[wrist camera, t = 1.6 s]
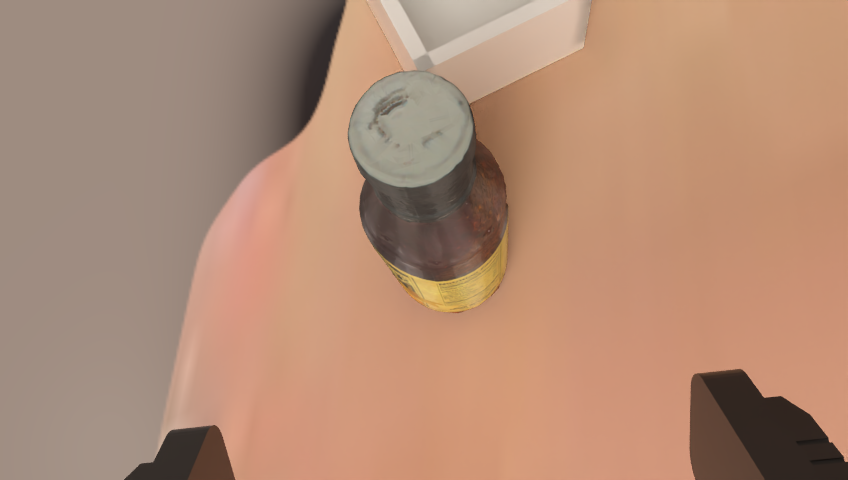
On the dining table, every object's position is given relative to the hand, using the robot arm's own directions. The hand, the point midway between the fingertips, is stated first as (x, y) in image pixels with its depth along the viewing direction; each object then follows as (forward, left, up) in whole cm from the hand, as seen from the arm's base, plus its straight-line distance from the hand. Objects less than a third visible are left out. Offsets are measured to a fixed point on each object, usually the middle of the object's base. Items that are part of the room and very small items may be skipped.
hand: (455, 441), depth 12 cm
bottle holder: (-11, -25, -28) cm, 38 cm away
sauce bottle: (-3, -10, -28) cm, 30 cm away
